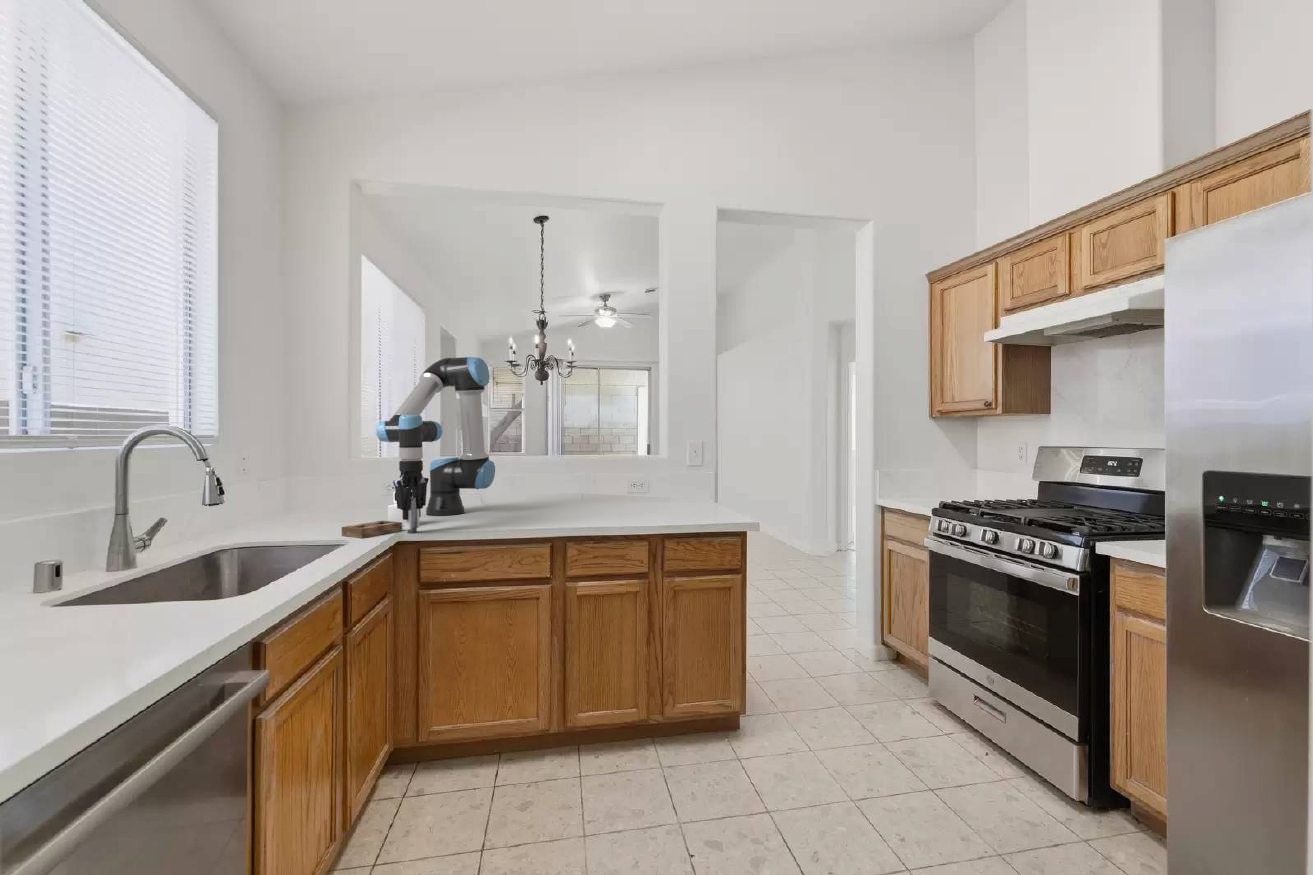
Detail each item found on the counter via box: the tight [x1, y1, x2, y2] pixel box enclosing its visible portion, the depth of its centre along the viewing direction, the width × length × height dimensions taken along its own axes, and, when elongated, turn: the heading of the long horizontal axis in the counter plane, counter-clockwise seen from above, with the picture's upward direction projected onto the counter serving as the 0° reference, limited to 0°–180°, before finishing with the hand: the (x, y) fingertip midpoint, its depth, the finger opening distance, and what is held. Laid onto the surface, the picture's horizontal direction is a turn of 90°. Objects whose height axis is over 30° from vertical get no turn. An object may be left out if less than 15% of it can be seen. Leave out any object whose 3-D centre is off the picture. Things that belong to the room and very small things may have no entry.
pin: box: [406, 496, 418, 534], centre depth 215 cm, size 3×3×12 cm
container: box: [387, 490, 413, 528], centre depth 231 cm, size 8×8×13 cm
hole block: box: [341, 520, 403, 539], centre depth 214 cm, size 16×10×3 cm, turn 152°
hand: (411, 528), depth 215 cm, fingers closed on pin, 3 cm apart
